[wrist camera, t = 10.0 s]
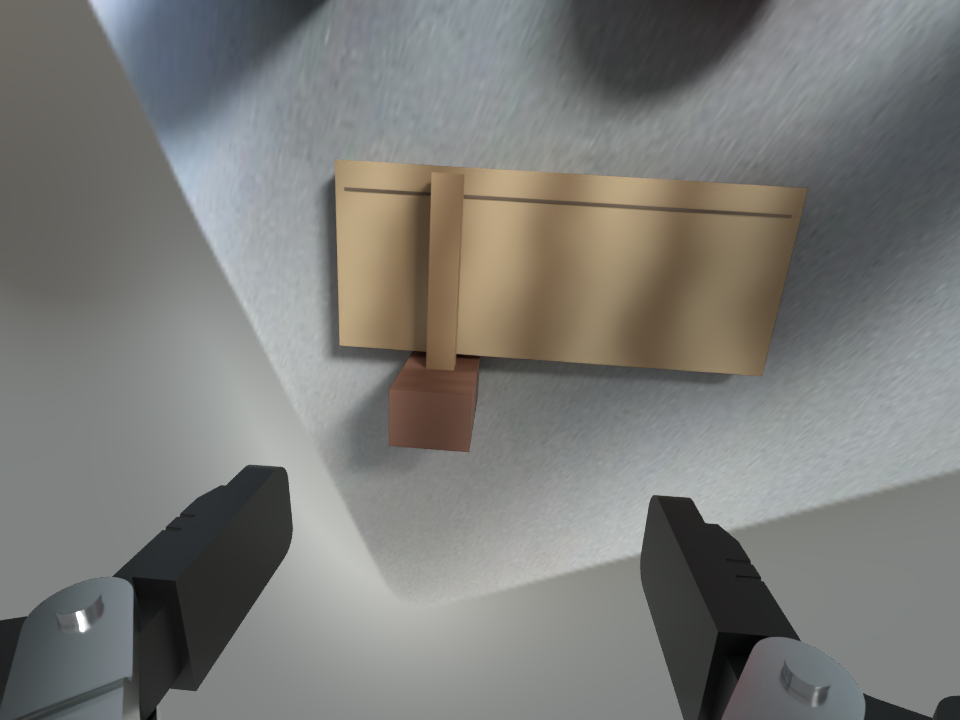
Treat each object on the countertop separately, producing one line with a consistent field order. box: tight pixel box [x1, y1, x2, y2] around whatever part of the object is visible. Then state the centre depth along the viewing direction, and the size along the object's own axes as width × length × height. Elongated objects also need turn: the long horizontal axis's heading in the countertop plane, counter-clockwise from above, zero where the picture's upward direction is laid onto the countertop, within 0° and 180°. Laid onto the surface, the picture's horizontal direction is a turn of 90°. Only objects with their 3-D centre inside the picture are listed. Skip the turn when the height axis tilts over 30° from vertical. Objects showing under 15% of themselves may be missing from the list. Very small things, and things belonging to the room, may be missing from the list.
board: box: [335, 160, 808, 376], centre depth 28 cm, size 24×10×2 cm, turn 87°
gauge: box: [389, 172, 480, 452], centre depth 26 cm, size 4×14×7 cm, turn 177°
